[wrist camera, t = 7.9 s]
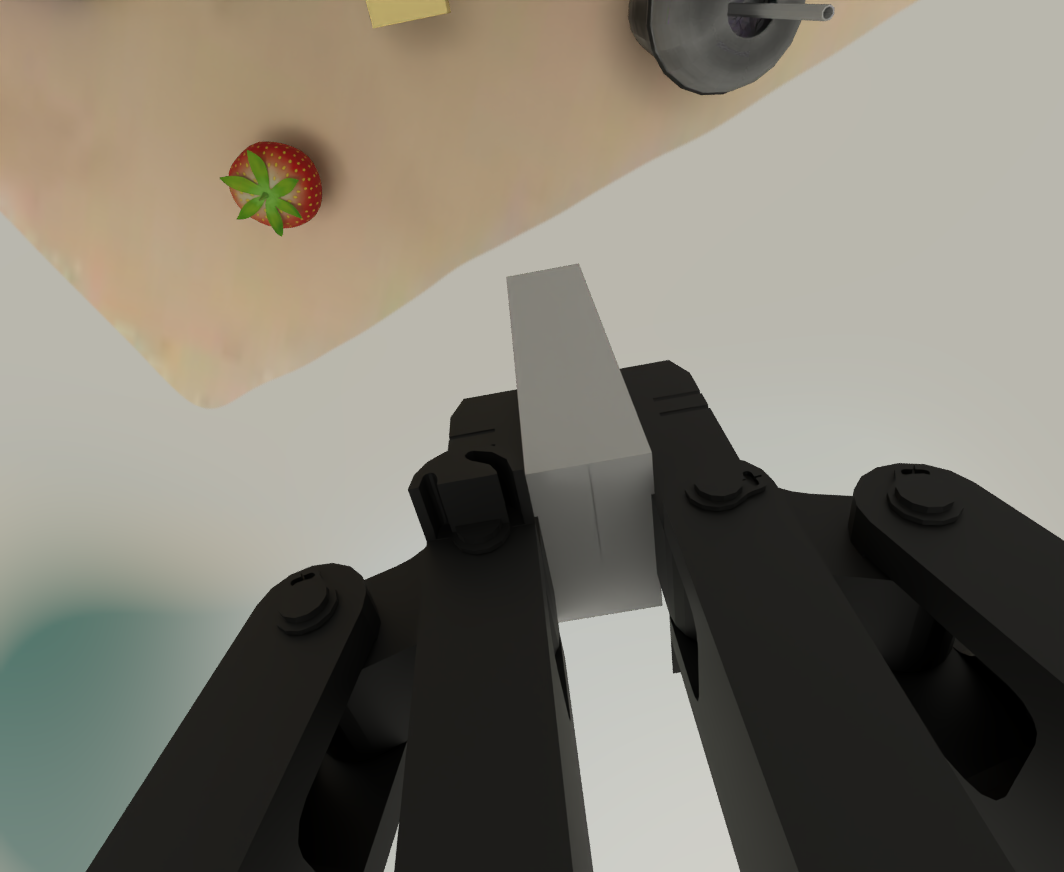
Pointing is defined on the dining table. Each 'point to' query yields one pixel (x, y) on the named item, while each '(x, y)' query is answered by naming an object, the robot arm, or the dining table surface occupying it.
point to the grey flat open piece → (404, 10)
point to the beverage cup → (719, 38)
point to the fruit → (275, 185)
